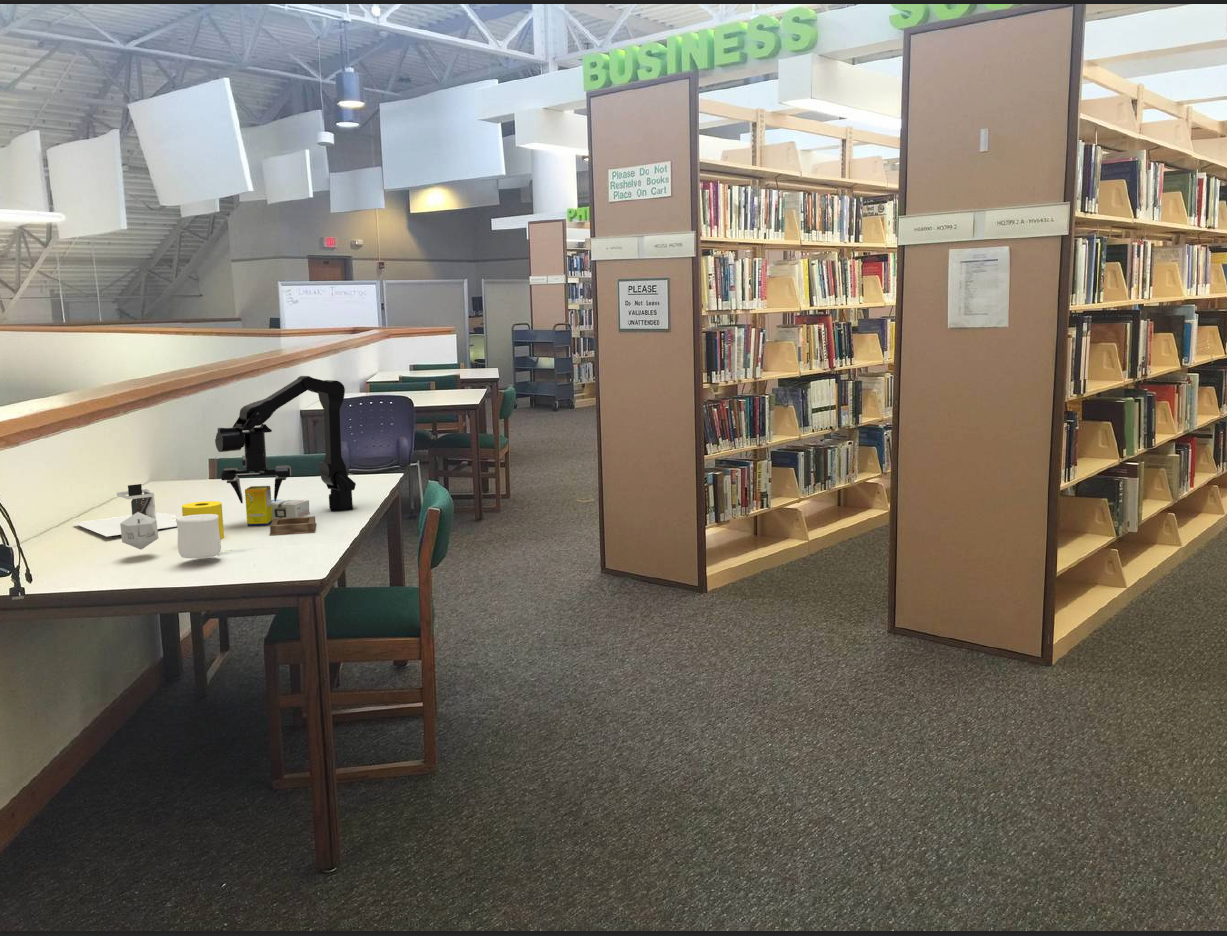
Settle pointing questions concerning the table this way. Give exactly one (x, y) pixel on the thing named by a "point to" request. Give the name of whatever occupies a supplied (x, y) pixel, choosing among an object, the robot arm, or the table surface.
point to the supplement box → (258, 506)
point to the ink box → (289, 508)
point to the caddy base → (293, 525)
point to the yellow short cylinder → (205, 511)
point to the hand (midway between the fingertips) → (258, 502)
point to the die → (139, 530)
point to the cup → (198, 536)
